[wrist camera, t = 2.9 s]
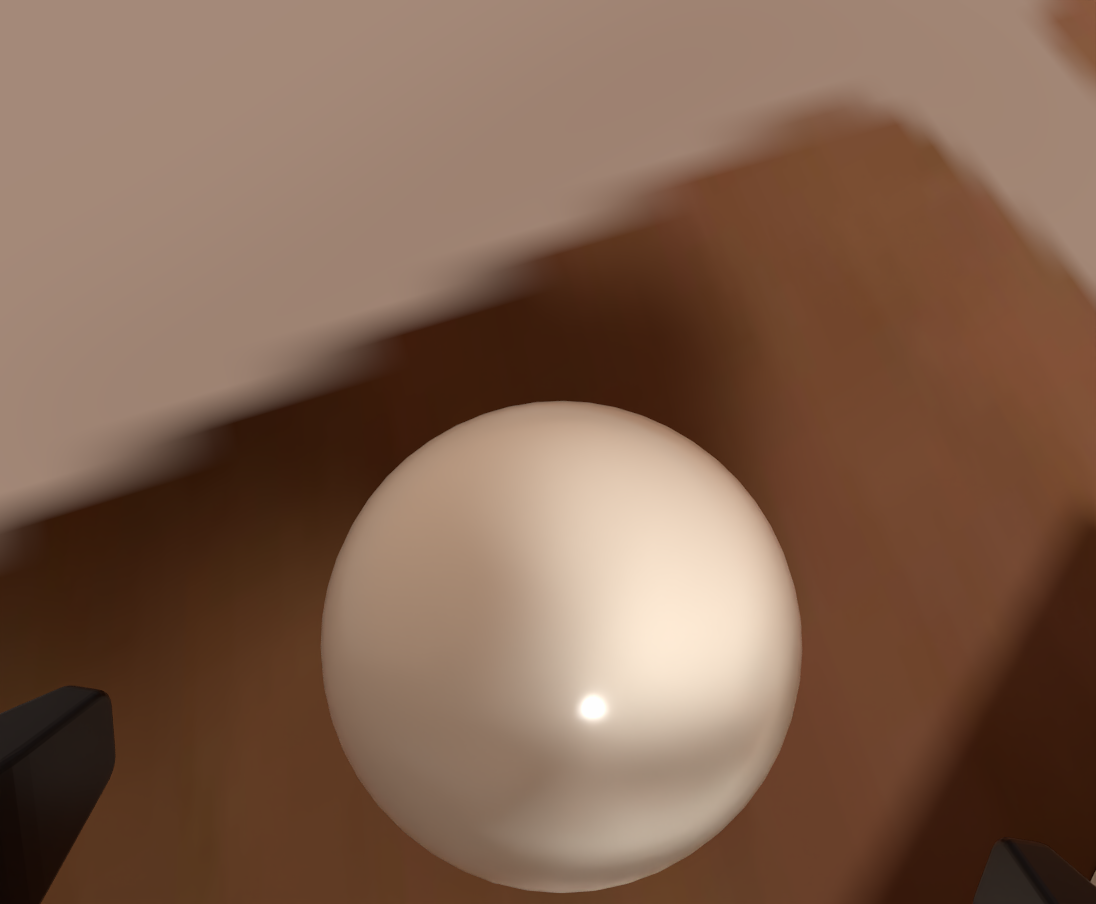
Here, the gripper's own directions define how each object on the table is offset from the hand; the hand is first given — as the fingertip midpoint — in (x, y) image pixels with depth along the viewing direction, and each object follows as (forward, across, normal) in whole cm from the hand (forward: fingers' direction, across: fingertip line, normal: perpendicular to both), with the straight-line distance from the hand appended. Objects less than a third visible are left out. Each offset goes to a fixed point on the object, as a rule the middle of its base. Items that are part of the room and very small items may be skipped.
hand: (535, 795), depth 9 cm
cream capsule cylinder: (+8, 0, +5) cm, 9 cm away
